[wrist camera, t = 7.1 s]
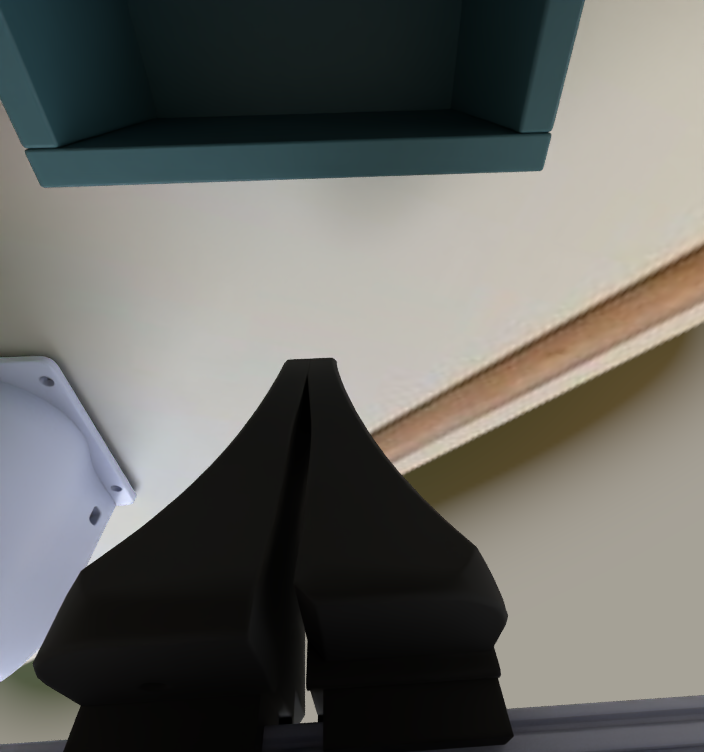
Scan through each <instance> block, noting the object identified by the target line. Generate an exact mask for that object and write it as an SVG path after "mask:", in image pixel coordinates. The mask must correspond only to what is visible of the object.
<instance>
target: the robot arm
mask: <svg viewBox="0 0 704 752" xmlns="http://www.w3.org/2000/svg"><path fill="white" fill-rule="evenodd" d="M48 377H49V378H51V379H52V380H51V379H49V378H48ZM135 498H136V493H135V492H134V490H133V488H132V487H131V485H130V483H129V482H128V480H127V478H126V477H125V475H124V473H123V472H122V470H121V469H120V467H119V465H118V464H117V462H116V460H115V459H114V457H113V455H112V454H111V452H110V450H109V449H108V447H107V445H106V444H105V442H104V440H103V439H102V437H101V435H100V434H99V432H98V431H97V429H96V427H95V426H94V424H93V422H92V421H91V419H90V417H89V416H88V414H87V412H86V411H85V409H84V407H83V406H82V404H81V402H80V401H79V399H78V397H77V396H76V394H75V393H74V391H73V389H72V388H71V386H70V384H69V383H68V381H67V379H66V378H65V376H64V374H63V373H62V371H61V369H60V368H59V366H58V365H57V364H56V362H55V361H53V360H52V359H50V358H48V357H45V356H23V357H0V682H1V681H3V680H4V679H5V678H7V677H8V676H10V675H11V674H12V673H13V672H14V671H16V670H17V669H18V668H19V667H21V666H22V665H23V664H24V663H25V662H26V661H27V660H28V659H29V658H30V657H31V656H32V655H33V654H34V653H35V652H36V651H37V650H38V649H39V648H40V647H41V648H40V650H39V652H38V654H37V656H36V658H35V660H34V662H33V667H34V670H35V673H36V675H37V677H38V678H39V679H40V680H41V681H42V682H43V683H45V684H46V685H47V686H49V687H51V688H52V689H54V690H56V691H57V692H59V693H61V694H62V695H64V696H66V697H68V698H69V699H71V700H72V701H74V702H76V703H77V704H79V705H81V707H80V709H79V712H78V714H77V717H76V719H75V722H74V725H73V727H72V730H71V732H70V735H69V738H68V740H57V741H43V742H28V743H14V744H0V752H704V695H699V696H686V697H685V696H684V697H671V698H657V699H656V698H655V699H641V700H627V701H613V702H598V703H585V704H571V705H557V706H541V707H527V708H513V709H506V706H505V702H504V698H503V695H502V691H501V688H500V684H499V681H498V678H499V677H500V676H501V672H500V667H499V663H498V659H497V656H496V652H495V649H494V645H495V643H496V641H497V639H498V638H499V636H500V634H501V632H502V630H503V629H504V627H505V625H506V622H507V618H508V614H507V611H506V608H505V604H504V601H503V598H502V596H501V594H500V591H499V589H498V587H497V585H496V582H495V580H494V578H493V576H492V574H491V572H490V570H489V568H488V566H487V564H486V562H485V561H484V559H483V557H482V555H481V554H480V552H479V550H478V548H477V547H476V546H475V545H474V544H472V543H471V542H470V541H469V540H468V539H467V538H465V537H464V536H463V535H462V534H461V533H459V531H457V530H456V529H455V528H454V527H453V526H452V525H451V524H449V523H448V522H447V521H446V520H445V519H444V518H443V517H442V516H441V515H440V514H439V513H438V512H437V511H436V510H435V509H433V507H431V506H430V505H429V504H428V503H427V502H426V501H425V500H424V499H423V498H422V497H421V496H420V495H419V493H418V492H417V491H416V490H415V489H414V488H413V487H412V486H411V485H410V484H409V482H408V481H407V480H406V479H405V478H404V477H403V476H402V475H401V474H400V473H399V472H398V470H397V469H396V468H395V467H394V465H393V464H392V463H391V462H390V461H389V459H388V458H387V457H386V456H385V454H384V453H383V451H382V450H381V449H380V447H379V446H378V445H377V443H376V442H375V441H374V439H373V438H372V436H371V435H370V433H369V432H368V430H367V428H366V427H365V425H364V424H363V422H362V420H361V419H360V417H359V415H358V414H357V412H356V410H355V408H354V406H353V404H352V402H351V400H350V398H349V396H348V394H347V392H346V390H345V388H344V385H343V383H342V380H341V378H340V375H339V372H338V368H337V361H336V360H335V359H333V358H314V359H293V360H287V361H286V362H285V363H284V365H283V367H282V369H281V371H280V373H279V374H278V376H277V378H276V380H275V382H274V383H273V385H272V387H271V388H270V390H269V391H268V393H267V395H266V396H265V398H264V399H263V401H262V402H261V404H260V405H259V407H258V408H257V410H256V411H255V412H254V414H253V415H252V417H251V418H250V419H249V420H248V422H247V423H246V424H245V426H244V427H243V428H242V430H241V431H240V432H239V434H238V435H237V436H236V437H235V439H234V440H233V441H232V442H231V443H230V445H229V446H228V447H227V448H226V449H225V450H224V451H223V453H222V454H221V455H220V456H219V457H218V458H217V459H216V460H215V461H214V462H213V463H212V464H211V466H210V467H209V468H207V469H206V470H205V471H204V472H203V473H202V474H201V475H200V476H199V477H198V478H197V479H196V480H195V481H194V482H193V483H192V484H191V485H190V486H189V487H188V488H187V489H186V490H185V491H184V492H183V493H182V494H181V495H179V496H178V497H177V498H176V499H175V500H174V501H172V502H171V503H170V504H169V505H168V506H166V507H165V508H164V509H163V510H162V511H161V512H159V513H158V514H157V515H156V516H155V517H153V518H152V519H151V520H150V521H149V522H147V523H146V524H145V525H144V526H142V527H141V528H140V529H138V530H137V531H136V532H134V533H133V534H132V535H130V536H129V537H128V538H126V539H125V540H123V541H122V542H121V543H119V544H118V545H117V546H115V547H114V548H112V549H111V550H110V551H108V552H107V553H105V554H104V555H103V556H101V557H100V558H98V559H97V560H96V561H94V562H93V563H91V564H90V565H88V566H87V564H88V562H89V560H90V558H91V556H92V554H93V552H94V549H95V547H96V545H97V543H98V541H99V539H100V537H101V535H102V533H103V531H104V529H105V527H106V525H107V523H108V521H109V519H110V517H111V515H112V513H113V510H114V508H115V506H120V505H130V504H132V503H134V501H135ZM86 566H87V567H86ZM305 632H306V636H307V640H308V644H307V674H306V675H307V676H306V688H307V690H308V691H311V694H312V698H313V701H314V704H315V708H316V711H317V714H318V722H313V723H300V722H301V720H302V719H303V717H304V715H305ZM41 645H42V646H41Z"/></svg>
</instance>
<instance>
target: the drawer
mask: <svg viewBox="0 0 704 752" xmlns="http://www.w3.org/2000/svg"><path fill="white" fill-rule="evenodd" d="M584 2H585V0H0V99H1V101H2V104H3V106H4V108H5V110H6V112H7V114H8V116H9V118H10V121H11V123H12V125H13V127H14V129H15V131H16V133H17V135H18V138H19V140H20V142H21V144H22V145H23V147H25V148H28V149H27V150H25V154H26V156H27V158H28V160H29V162H30V164H31V166H32V169H33V171H34V173H35V175H36V177H37V179H38V181H39V183H40V185H41V186H42V187H45V188H50V187H80V186H109V185H139V184H169V183H199V182H229V181H258V180H288V179H318V178H348V177H378V176H407V175H437V174H467V173H497V172H527V171H541V170H542V169H543V167H544V163H545V159H546V155H547V151H548V147H549V143H550V139H551V133H548V132H550V131H551V130H552V128H553V125H554V121H555V117H556V113H557V109H558V105H559V101H560V97H561V93H562V89H563V85H564V81H565V77H566V73H567V69H568V65H569V61H570V57H571V53H572V50H573V46H574V42H575V38H576V34H577V30H578V26H579V22H580V18H581V14H582V10H583V6H584Z"/></svg>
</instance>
